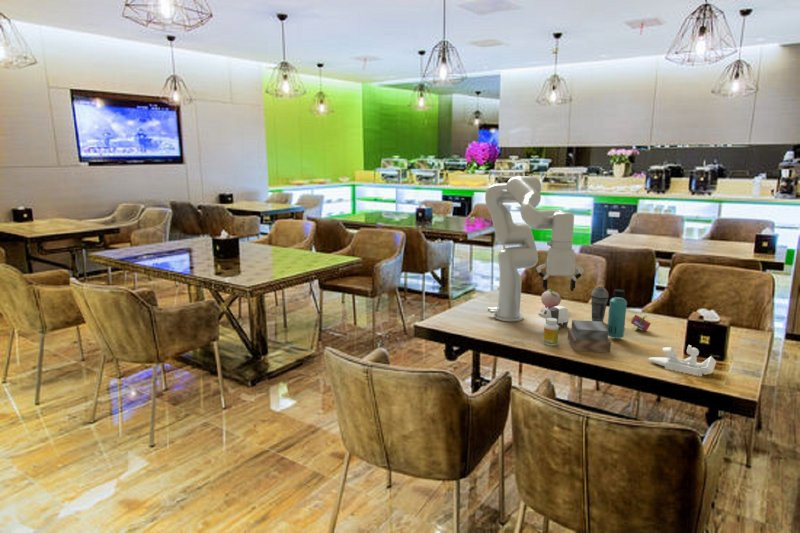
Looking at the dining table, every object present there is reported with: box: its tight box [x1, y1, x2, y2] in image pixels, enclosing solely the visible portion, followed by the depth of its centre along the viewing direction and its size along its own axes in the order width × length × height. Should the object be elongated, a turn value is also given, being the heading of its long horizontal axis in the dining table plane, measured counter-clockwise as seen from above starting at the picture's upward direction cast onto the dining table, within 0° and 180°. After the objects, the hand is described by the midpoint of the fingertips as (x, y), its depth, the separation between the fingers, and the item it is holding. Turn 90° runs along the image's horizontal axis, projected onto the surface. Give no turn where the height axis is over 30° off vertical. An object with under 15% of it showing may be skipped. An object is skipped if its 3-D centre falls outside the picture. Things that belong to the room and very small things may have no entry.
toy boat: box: [648, 344, 717, 377], centre depth 177 cm, size 11×20×9 cm, turn 54°
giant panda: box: [538, 305, 570, 329], centre depth 219 cm, size 15×6×10 cm, turn 115°
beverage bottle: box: [606, 289, 628, 339], centre depth 205 cm, size 6×7×20 cm
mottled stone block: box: [567, 319, 612, 353], centre depth 199 cm, size 13×13×8 cm
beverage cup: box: [590, 277, 609, 324], centre depth 225 cm, size 7×7×20 cm
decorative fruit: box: [540, 288, 562, 308], centre depth 244 cm, size 9×8×10 cm
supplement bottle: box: [542, 318, 560, 346], centre depth 200 cm, size 5×5×10 cm
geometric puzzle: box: [630, 314, 652, 333], centre depth 216 cm, size 7×7×8 cm
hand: (558, 289), depth 198 cm, fingers open, 9 cm apart
